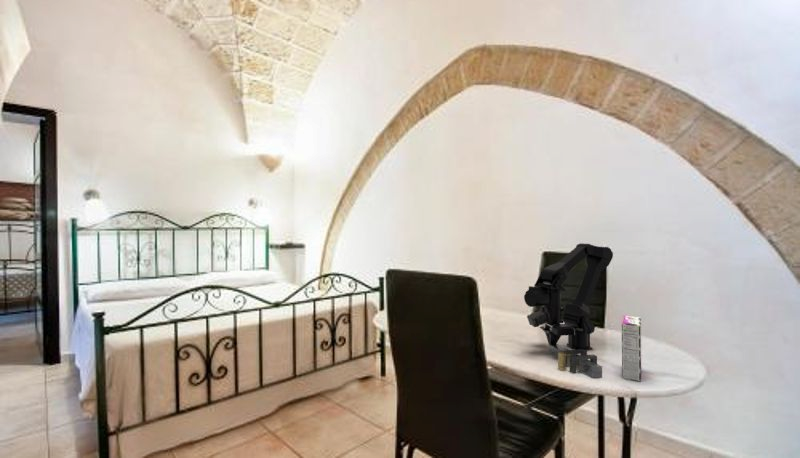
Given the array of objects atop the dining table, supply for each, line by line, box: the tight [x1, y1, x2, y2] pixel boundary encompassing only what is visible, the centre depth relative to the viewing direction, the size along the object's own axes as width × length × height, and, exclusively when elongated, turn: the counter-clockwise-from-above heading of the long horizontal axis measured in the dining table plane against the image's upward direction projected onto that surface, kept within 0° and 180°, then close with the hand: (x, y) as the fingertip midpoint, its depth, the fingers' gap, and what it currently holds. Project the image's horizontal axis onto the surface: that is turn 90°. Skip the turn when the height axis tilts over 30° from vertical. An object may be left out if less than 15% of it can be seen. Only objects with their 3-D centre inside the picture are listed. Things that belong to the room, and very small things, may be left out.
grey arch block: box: [561, 349, 588, 368], centre depth 124 cm, size 8×2×5 cm, turn 98°
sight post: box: [557, 352, 571, 371], centre depth 121 cm, size 4×2×5 cm, turn 98°
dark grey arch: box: [569, 353, 598, 374], centre depth 119 cm, size 8×2×5 cm, turn 98°
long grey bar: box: [548, 343, 603, 379], centre depth 125 cm, size 22×3×3 cm, turn 11°
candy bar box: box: [621, 315, 642, 382], centre depth 117 cm, size 11×5×16 cm, turn 148°
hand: (551, 348), depth 137 cm, fingers closed
